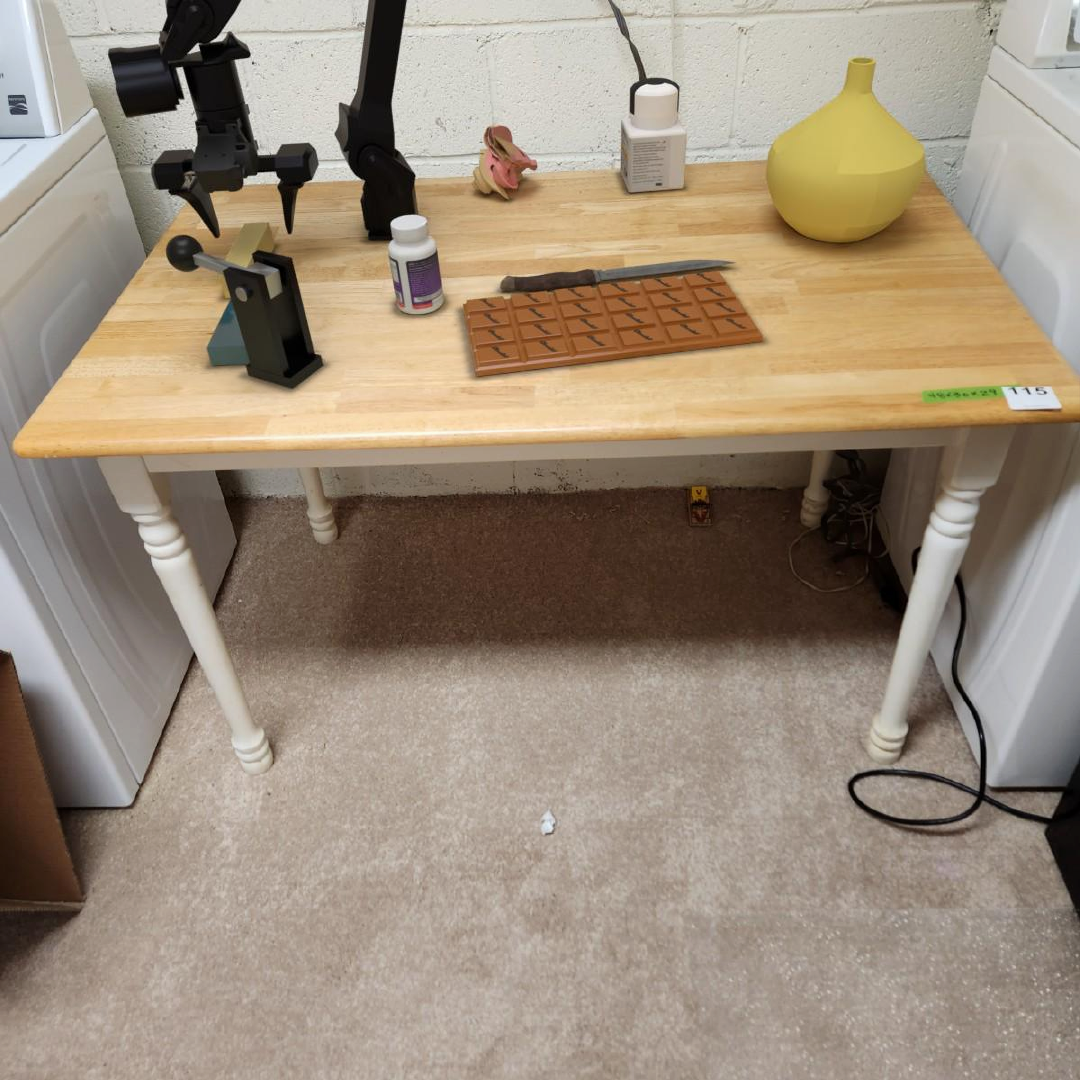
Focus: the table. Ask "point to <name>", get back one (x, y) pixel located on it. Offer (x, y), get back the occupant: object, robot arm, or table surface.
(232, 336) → the butter dish
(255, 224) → the butter
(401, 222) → the pill bottle
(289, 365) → the stand
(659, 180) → the container
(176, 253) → the lever handle
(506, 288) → the knife
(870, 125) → the vase
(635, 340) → the chocolate bar
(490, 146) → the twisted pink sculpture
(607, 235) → the table surface
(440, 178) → the table surface
